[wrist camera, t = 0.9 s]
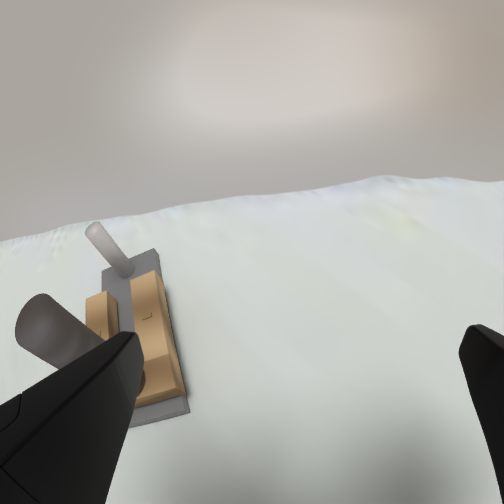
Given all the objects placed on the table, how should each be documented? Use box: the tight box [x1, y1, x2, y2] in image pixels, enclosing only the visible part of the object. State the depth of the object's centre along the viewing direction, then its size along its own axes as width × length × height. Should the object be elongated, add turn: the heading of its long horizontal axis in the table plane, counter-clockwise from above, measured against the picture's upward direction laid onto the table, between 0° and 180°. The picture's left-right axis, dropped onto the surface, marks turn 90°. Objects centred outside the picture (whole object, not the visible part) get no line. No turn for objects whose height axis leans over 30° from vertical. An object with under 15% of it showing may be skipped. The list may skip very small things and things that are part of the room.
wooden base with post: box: [15, 270, 186, 408], centre depth 19 cm, size 10×7×11 cm
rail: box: [85, 222, 190, 428], centre depth 22 cm, size 16×6×7 cm, turn 18°
